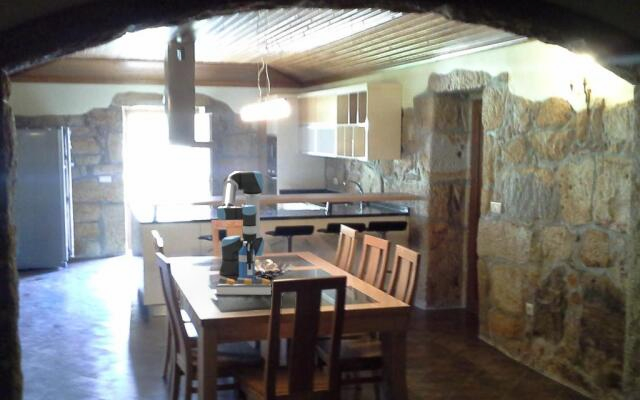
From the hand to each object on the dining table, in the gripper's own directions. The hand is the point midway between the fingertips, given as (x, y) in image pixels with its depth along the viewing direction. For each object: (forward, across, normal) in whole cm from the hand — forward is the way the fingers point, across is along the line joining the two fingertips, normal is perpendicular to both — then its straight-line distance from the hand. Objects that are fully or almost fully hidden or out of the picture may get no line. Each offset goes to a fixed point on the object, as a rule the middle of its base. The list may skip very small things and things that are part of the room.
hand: (250, 274), depth 384 cm
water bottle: (+10, -20, -4) cm, 22 cm away
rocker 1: (+4, 0, -13) cm, 14 cm away
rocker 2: (+4, 0, -3) cm, 5 cm away
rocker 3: (+4, 0, +7) cm, 8 cm away
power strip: (+10, 0, -3) cm, 10 cm away
